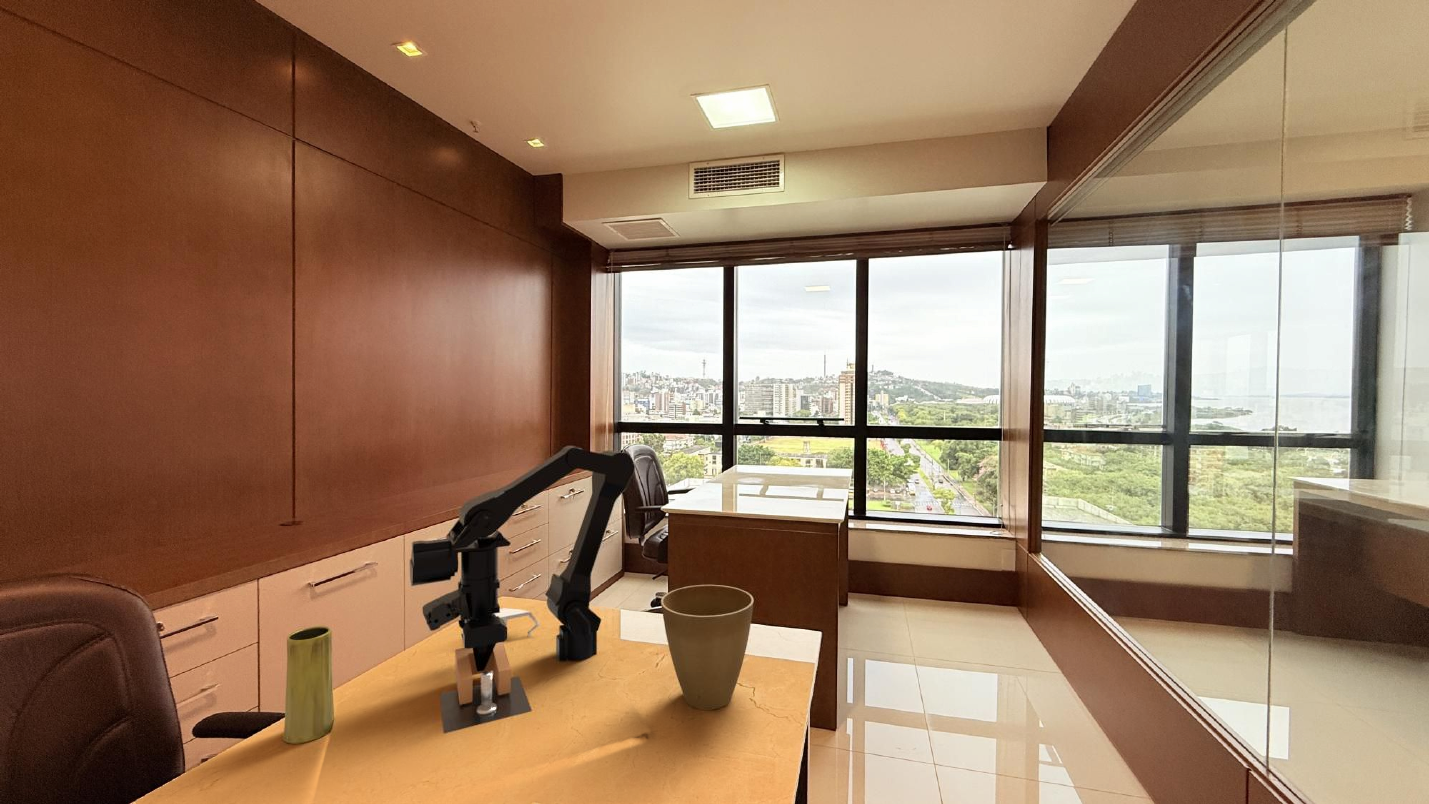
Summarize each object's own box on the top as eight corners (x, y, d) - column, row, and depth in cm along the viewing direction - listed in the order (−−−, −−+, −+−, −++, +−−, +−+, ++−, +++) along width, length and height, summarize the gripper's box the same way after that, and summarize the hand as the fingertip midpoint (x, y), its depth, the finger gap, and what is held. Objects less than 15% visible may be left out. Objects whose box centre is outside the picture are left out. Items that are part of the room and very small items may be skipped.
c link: (502, 661, 96) (502, 640, 96) (510, 692, 88) (510, 668, 88) (455, 672, 92) (455, 649, 92) (459, 704, 85) (459, 680, 84)
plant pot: (766, 685, 93) (766, 590, 93) (731, 734, 80) (731, 622, 80) (687, 667, 99) (687, 578, 99) (643, 709, 86) (643, 606, 86)
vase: (307, 747, 76) (307, 644, 76) (271, 741, 78) (271, 640, 78) (345, 722, 82) (345, 626, 82) (310, 717, 84) (311, 623, 84)
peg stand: (518, 681, 94) (518, 643, 94) (531, 717, 84) (531, 674, 84) (440, 699, 89) (440, 659, 89) (443, 740, 78) (443, 694, 78)
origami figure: (473, 649, 107) (473, 624, 107) (479, 632, 115) (479, 608, 115) (539, 642, 110) (539, 617, 110) (539, 625, 118) (539, 602, 118)
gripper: (424, 567, 98) (424, 655, 98) (427, 600, 81) (427, 707, 81) (491, 558, 103) (491, 642, 103) (507, 588, 87) (508, 687, 87)
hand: (479, 667), depth 93 cm, fingers closed on c link, 2 cm apart
